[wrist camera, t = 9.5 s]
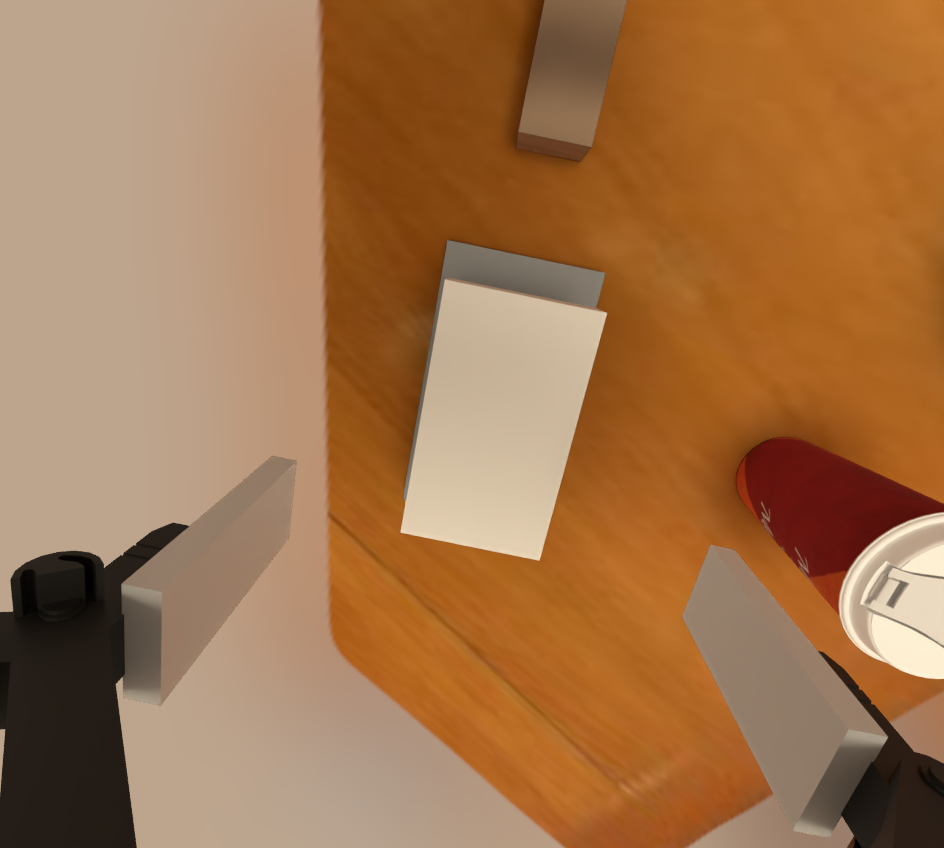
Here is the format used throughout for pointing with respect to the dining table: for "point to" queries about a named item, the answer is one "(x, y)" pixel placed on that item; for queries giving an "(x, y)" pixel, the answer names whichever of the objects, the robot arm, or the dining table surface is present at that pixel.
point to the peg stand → (510, 288)
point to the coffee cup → (856, 547)
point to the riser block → (569, 76)
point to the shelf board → (498, 416)
